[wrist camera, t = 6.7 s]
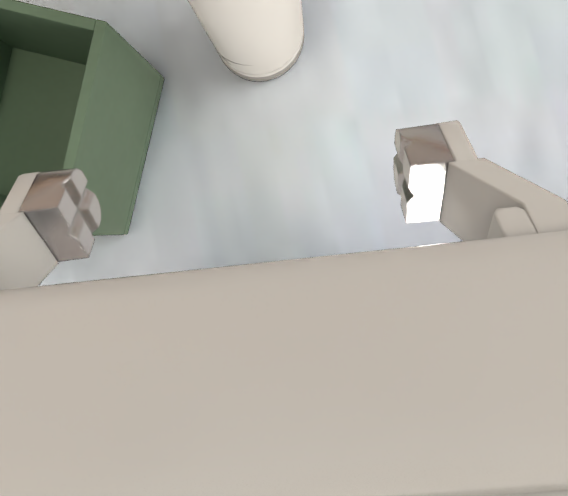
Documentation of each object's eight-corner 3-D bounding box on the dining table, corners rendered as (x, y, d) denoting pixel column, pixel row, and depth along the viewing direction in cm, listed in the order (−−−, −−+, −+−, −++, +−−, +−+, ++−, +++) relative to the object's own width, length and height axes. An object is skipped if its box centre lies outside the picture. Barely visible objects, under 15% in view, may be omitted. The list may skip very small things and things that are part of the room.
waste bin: (164, 78, 36) (106, 21, 26) (127, 234, 36) (57, 237, 27) (14, 41, 36) (-99, -27, 27) (-20, 196, 37) (-142, 184, 27)
